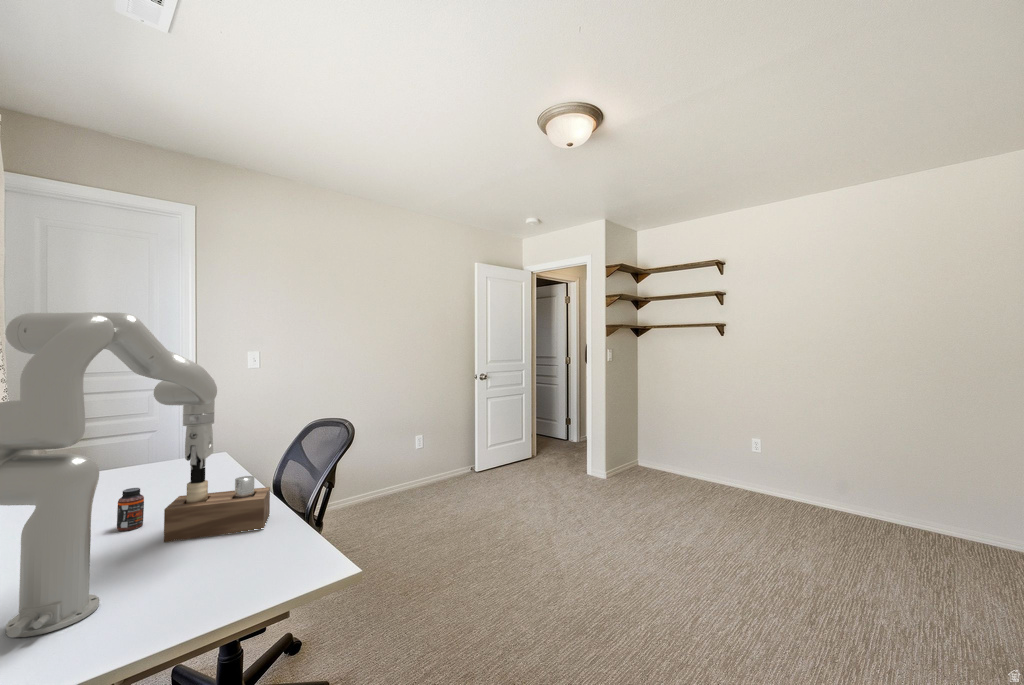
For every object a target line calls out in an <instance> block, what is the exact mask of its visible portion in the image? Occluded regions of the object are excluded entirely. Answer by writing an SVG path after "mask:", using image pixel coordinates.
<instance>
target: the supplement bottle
mask: <svg viewBox="0 0 1024 685" xmlns="http://www.w3.org/2000/svg"><path fill="white" fill-rule="evenodd" d="M144 508H145V496H144V495H143V494H141V488H140V487H131V488H126V489H123V490H122V496H121V497H120V498H119V499H118V501H117V508H116V509H117V510H116V513H117V515H116V530H117V531H120V532H128V531H133V530H136V529H139V528H141V527H142V526H143V525H144V514H145V513H144V512H145V510H144Z"/></svg>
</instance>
